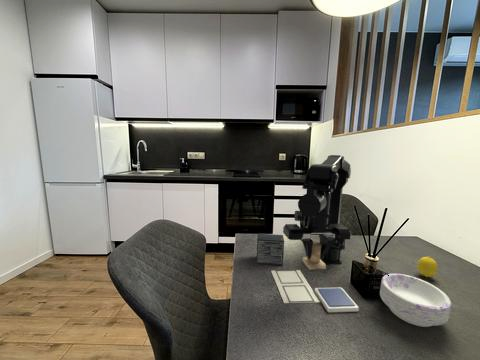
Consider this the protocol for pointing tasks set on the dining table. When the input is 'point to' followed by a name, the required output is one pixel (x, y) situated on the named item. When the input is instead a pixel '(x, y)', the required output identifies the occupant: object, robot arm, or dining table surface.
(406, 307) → the paper bowls
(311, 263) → the stamp
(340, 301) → the ink pad
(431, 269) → the lemon
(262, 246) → the small box
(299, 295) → the print sheet
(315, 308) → the dining table surface
